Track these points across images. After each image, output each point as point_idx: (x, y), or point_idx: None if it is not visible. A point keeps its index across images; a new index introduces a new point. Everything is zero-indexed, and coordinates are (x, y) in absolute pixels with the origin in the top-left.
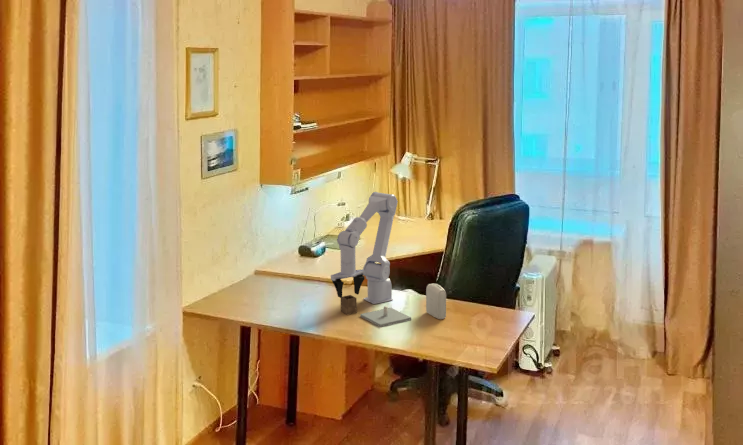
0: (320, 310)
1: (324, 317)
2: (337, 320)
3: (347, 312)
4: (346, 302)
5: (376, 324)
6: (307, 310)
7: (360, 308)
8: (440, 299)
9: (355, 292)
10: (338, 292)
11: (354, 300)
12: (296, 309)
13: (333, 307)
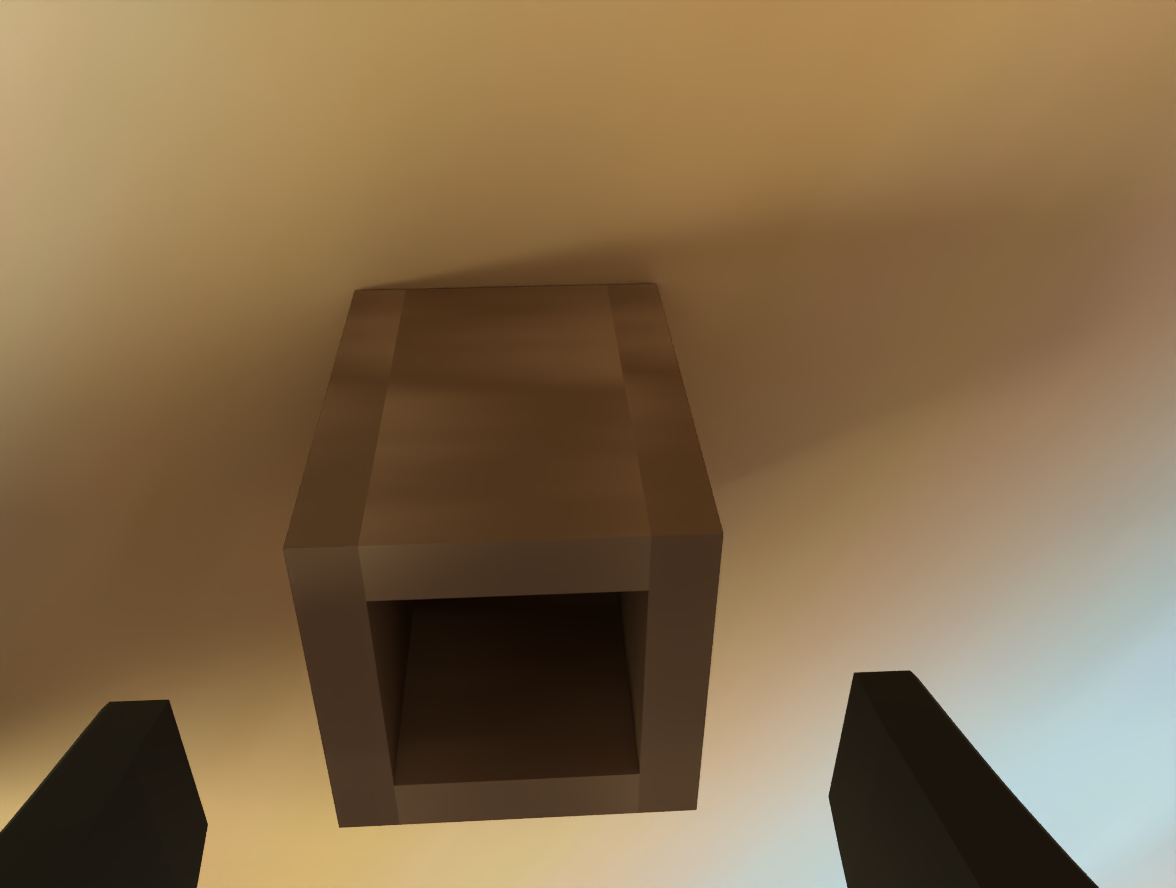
0: None
1: (1171, 386)
2: (1130, 29)
3: (637, 310)
4: (707, 479)
5: None
6: (1083, 799)
7: (136, 482)
8: None
9: (185, 823)
10: None
11: (382, 492)
12: (1166, 885)
13: None
